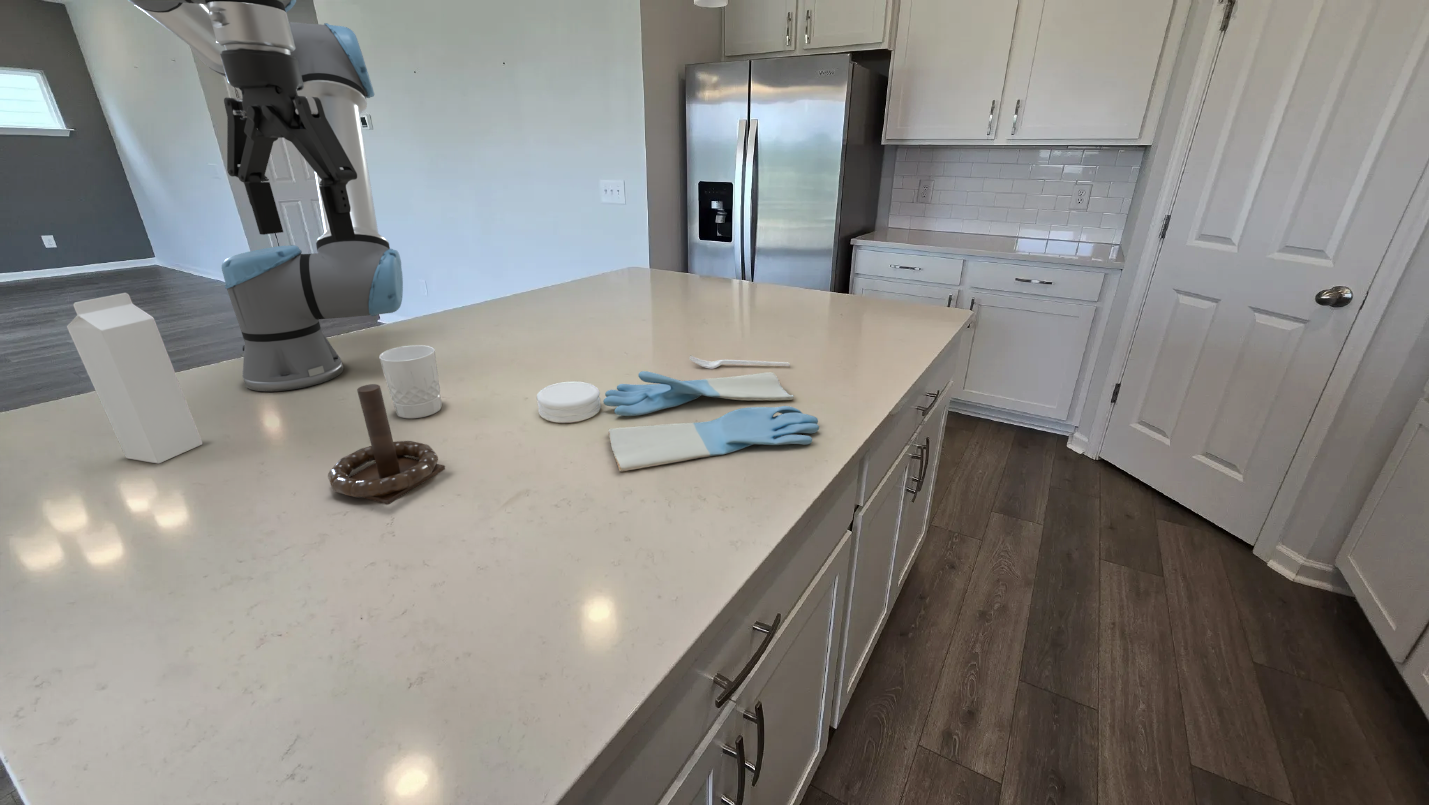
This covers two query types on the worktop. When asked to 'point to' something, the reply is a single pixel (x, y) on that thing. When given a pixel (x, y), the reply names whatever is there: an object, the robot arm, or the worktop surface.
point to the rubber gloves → (702, 437)
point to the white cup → (412, 380)
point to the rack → (383, 445)
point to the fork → (733, 362)
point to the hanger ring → (385, 485)
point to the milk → (133, 378)
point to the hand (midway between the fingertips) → (307, 236)
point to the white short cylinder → (568, 401)
